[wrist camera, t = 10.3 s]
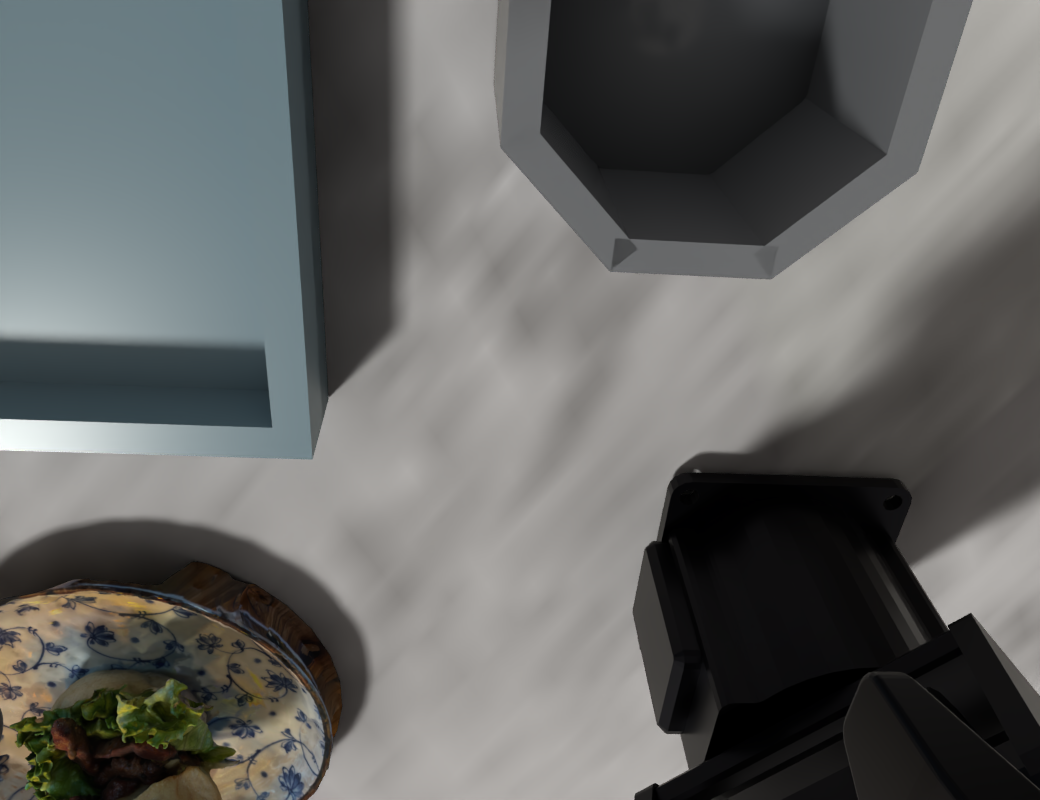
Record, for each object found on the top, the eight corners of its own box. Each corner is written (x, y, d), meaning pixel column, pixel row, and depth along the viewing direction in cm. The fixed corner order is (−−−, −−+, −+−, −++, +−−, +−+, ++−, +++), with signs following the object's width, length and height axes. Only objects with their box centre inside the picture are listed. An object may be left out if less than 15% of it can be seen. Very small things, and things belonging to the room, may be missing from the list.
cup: (891, -173, 15) (1032, -185, 11) (798, 199, 19) (881, 285, 15) (509, -208, 15) (523, -233, 11) (488, 181, 18) (493, 265, 14)
